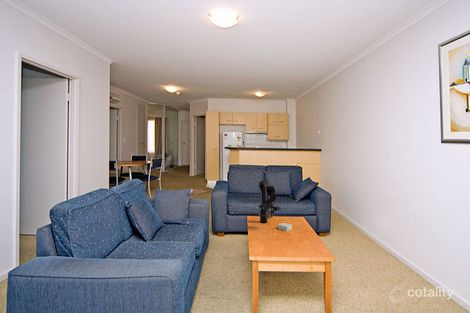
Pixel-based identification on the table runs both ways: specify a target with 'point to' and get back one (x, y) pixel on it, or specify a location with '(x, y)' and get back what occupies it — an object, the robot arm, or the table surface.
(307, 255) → the table surface
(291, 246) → the table surface
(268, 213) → the walnut block
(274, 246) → the table surface
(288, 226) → the sage base block
